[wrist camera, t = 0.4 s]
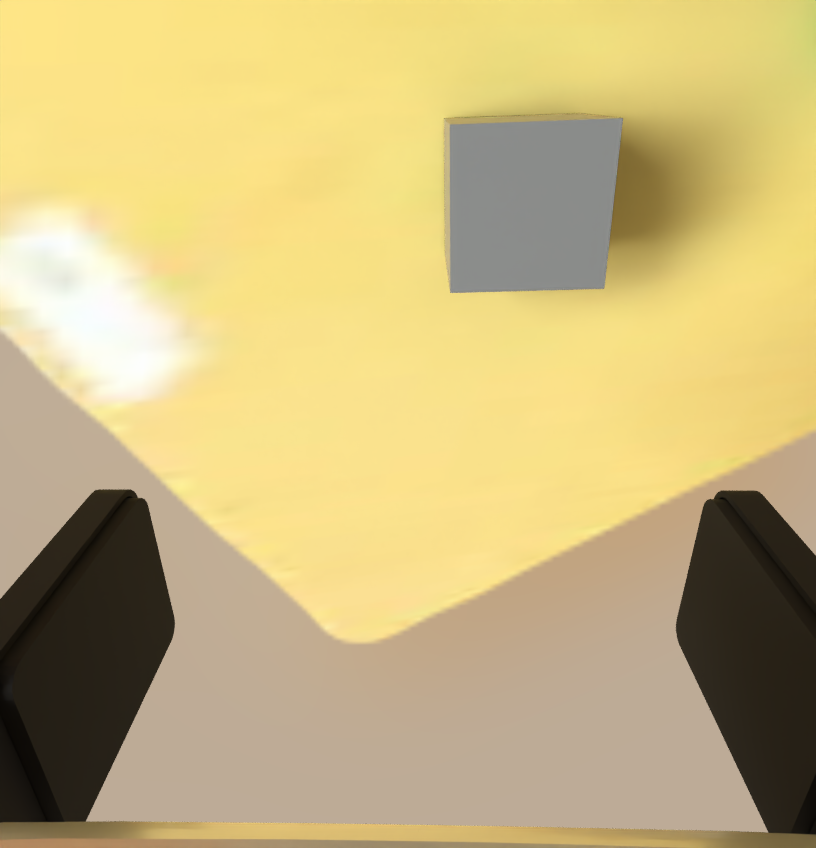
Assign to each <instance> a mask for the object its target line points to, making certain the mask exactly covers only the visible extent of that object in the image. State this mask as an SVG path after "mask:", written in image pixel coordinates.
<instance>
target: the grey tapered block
mask: <svg viewBox="0 0 816 848" xmlns="http://www.w3.org/2000/svg"><path fill="white" fill-rule="evenodd" d="M622 122H623V118H618V117H609V116H600V115H591V114H582V113H572V114H545V115H518V116H492V117H465V118H444V183H445V258H446V265H447V272H448V280H449V287H450V293H465V292H501V291H537V290H573V289H604V286H605V277H606V268H607V259H608V250H609V241H610V231H611V222H612V213H613V204H614V195H615V186H616V177H617V168H618V159H619V150H620V141H621V131H622Z"/></svg>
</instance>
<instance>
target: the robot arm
mask: <svg viewBox="0 0 816 848" xmlns="http://www.w3.org/2000/svg"><path fill="white" fill-rule="evenodd" d="M174 627H175V620H174V614H173V610H172V606H171V602H170V598H169V594H168V589H167V585H166V581H165V576H164V572H163V568H162V563H161V559H160V555H159V550H158V546H157V542H156V538H155V534H154V529H153V525H152V521H151V516H150V512H149V508H148V505H147V502H146V501H145V499H143V498H138V497H137V495H136V493H135V492H134V491H132V490H95V491H94V492H93V493H92V494H91V495H90V496H89V497H88V498H87V499H86V501H85V502H84V503H83V504H82V505H81V506H80V508H79V509H78V510H77V511H76V512H75V513H74V514H73V516H72V517H71V518H70V519H69V520H68V521H67V522H66V524H65V525H64V526H63V527H62V528H61V530H60V531H59V532H58V533H57V534H56V535H55V536H54V537H53V539H52V540H51V541H50V542H49V543H48V545H47V546H46V547H45V548H44V549H43V550H42V551H41V553H40V554H39V555H38V556H37V557H36V558H35V560H34V561H33V562H32V563H31V564H30V565H29V567H28V568H27V569H26V570H25V571H24V572H23V574H22V575H21V576H20V577H19V578H18V579H17V580H16V582H15V583H14V584H13V585H12V586H11V587H10V589H9V590H8V591H7V592H6V593H5V595H3V597H2V598H1V599H0V848H816V555H814V553H813V552H812V551H811V550H810V549H809V548H808V546H807V545H806V544H805V543H804V542H803V541H802V540H801V538H800V537H799V536H798V535H797V534H796V533H795V531H794V530H793V529H792V528H791V527H790V526H789V525H788V523H787V522H786V521H785V520H784V519H783V518H782V517H781V515H780V514H779V513H778V512H777V511H776V510H775V509H774V507H773V506H772V505H771V504H770V503H769V502H768V501H767V500H766V498H765V497H764V496H763V495H762V494H761V493H760V492H758V491H720V492H718V493H717V494H716V496H715V498H714V499H709V500H707V501H706V502H705V504H704V507H703V510H702V514H701V519H700V523H699V528H698V532H697V536H696V540H695V544H694V549H693V553H692V557H691V562H690V566H689V570H688V574H687V579H686V583H685V587H684V591H683V596H682V600H681V604H680V609H679V613H678V617H677V622H676V633H677V638H678V642H679V645H680V647H681V649H682V651H683V653H684V655H685V658H686V660H687V662H688V664H689V666H690V668H691V670H692V672H693V674H694V676H695V679H696V680H697V683H698V685H699V687H700V689H701V691H702V693H703V695H704V697H705V700H706V702H707V703H708V706H709V708H710V710H711V712H712V714H713V716H714V718H715V720H716V723H717V725H718V727H719V729H720V731H721V733H722V735H723V737H724V739H725V742H726V744H727V746H728V748H729V750H730V752H731V754H732V756H733V758H734V761H735V763H736V765H737V767H738V769H739V771H740V773H741V775H742V777H743V779H744V782H745V784H746V786H747V788H748V790H749V792H750V794H751V796H752V799H753V800H754V803H755V805H756V807H757V809H758V811H759V813H760V815H761V817H762V819H763V821H764V824H765V826H766V828H767V830H768V832H769V833H764V832H739V831H701V830H656V829H654V830H653V829H608V828H564V827H563V828H561V827H512V826H510V827H509V826H451V825H387V824H386V825H384V824H382V825H381V824H321V823H320V824H319V823H318V824H316V823H227V822H226V823H225V822H127V821H119V822H116V821H114V822H86V819H87V817H88V815H89V813H90V811H91V809H92V807H93V805H94V802H95V800H96V798H97V796H98V794H99V792H100V790H101V788H102V786H103V784H104V781H105V779H106V777H107V775H108V773H109V771H110V769H111V767H112V764H113V762H114V760H115V758H116V756H117V754H118V752H119V750H120V748H121V746H122V744H123V741H124V739H125V737H126V735H127V733H128V731H129V729H130V727H131V725H132V723H133V721H134V718H135V716H136V714H137V712H138V710H139V708H140V706H141V704H142V701H143V699H144V697H145V695H146V693H147V691H148V689H149V687H150V685H151V683H152V681H153V678H154V676H155V674H156V672H157V670H158V668H159V666H160V664H161V662H162V659H163V657H164V655H165V653H166V651H167V649H168V647H169V645H170V643H171V640H172V638H173V634H174Z"/></svg>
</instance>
